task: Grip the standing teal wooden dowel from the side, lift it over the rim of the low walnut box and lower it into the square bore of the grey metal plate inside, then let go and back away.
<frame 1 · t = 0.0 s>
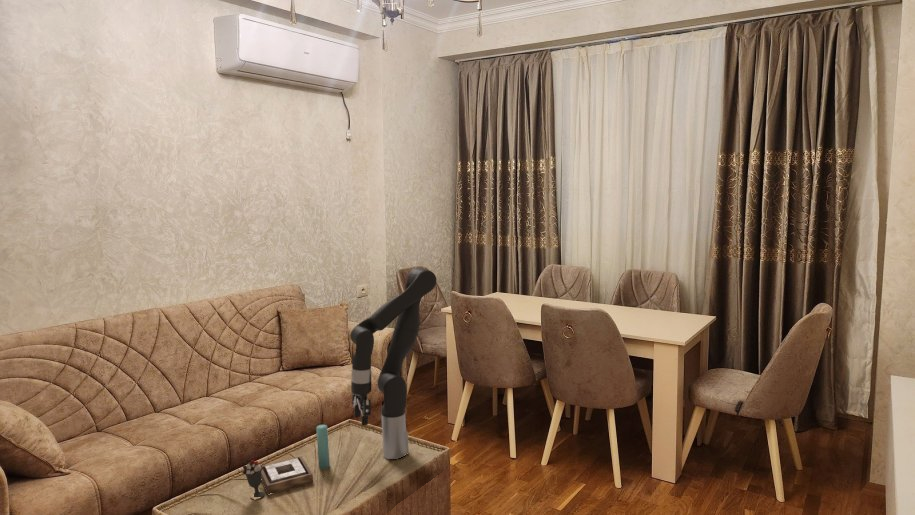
hand: (360, 420, 238), 17 cm above the table, tool pointing down, fingers open, 8 cm apart
plate: (285, 472, 230), in the box, point 2 cm above the table
box: (285, 479, 230), on the table
sundae: (257, 496, 219), on the table
peg: (324, 466, 239), on the table
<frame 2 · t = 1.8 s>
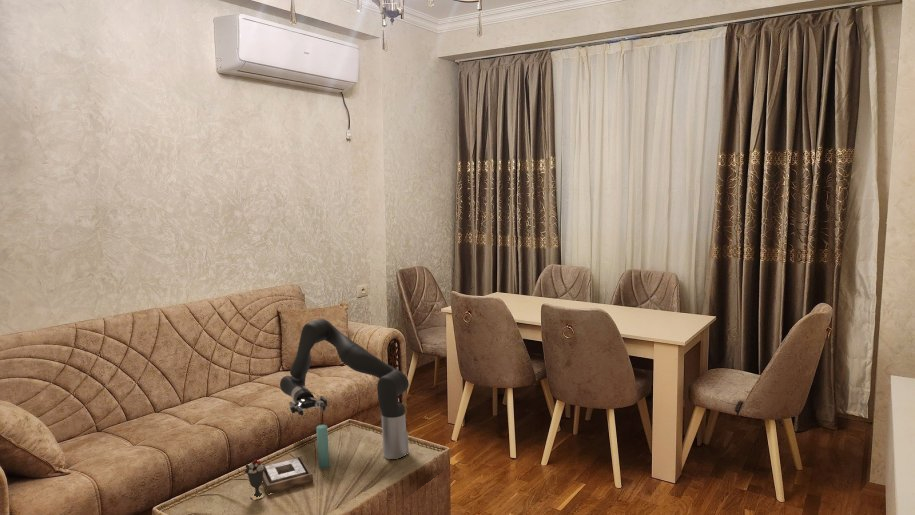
hand: (313, 410, 246), 18 cm above the table, tool horizontal, fingers open, 8 cm apart
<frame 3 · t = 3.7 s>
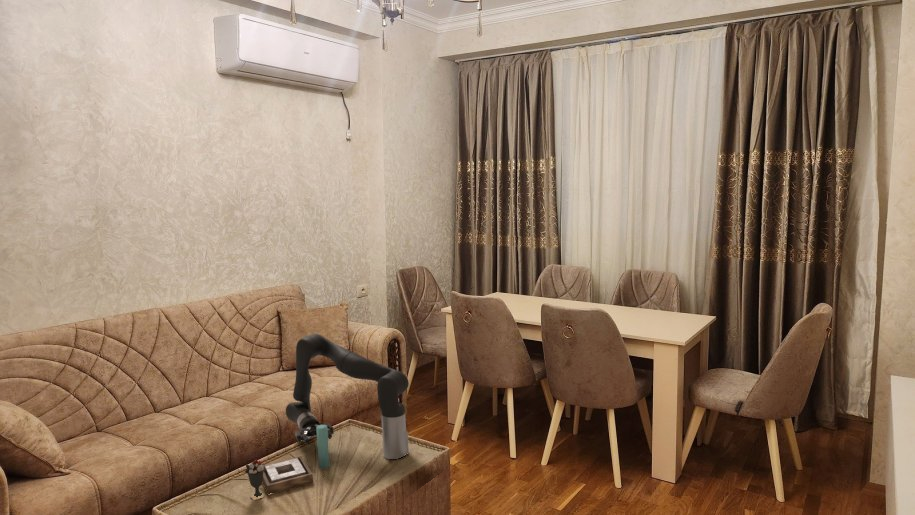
hand: (319, 439, 242), 9 cm above the table, tool horizontal, fingers open, 8 cm apart
nothing on the table moved.
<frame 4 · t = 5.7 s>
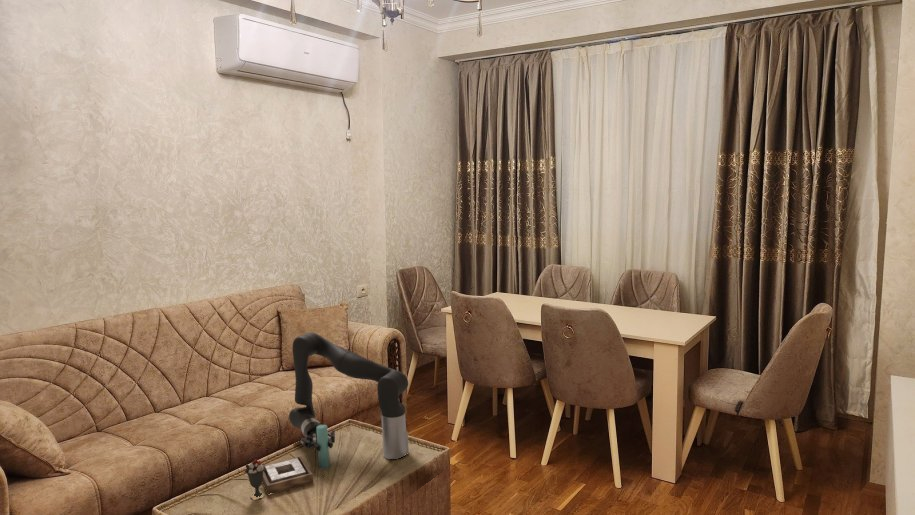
hand: (325, 447, 235), 9 cm above the table, tool horizontal, fingers closed on peg, 4 cm apart
peg: (324, 466, 239), on the table, touching gripper
everything else where it was.
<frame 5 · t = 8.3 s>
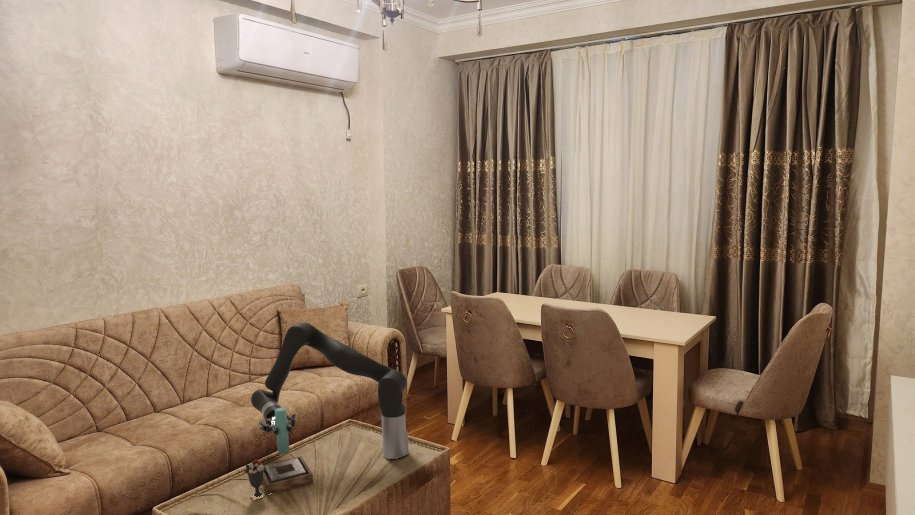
hand: (283, 430, 225), 20 cm above the table, tool horizontal, fingers closed on peg, 4 cm apart
peg: (283, 451, 228), point 11 cm above the table, touching gripper
everything else where it was.
when the fingers open (11 cm above the table, at t = 11.1 s): peg stays where it is, resting on box.
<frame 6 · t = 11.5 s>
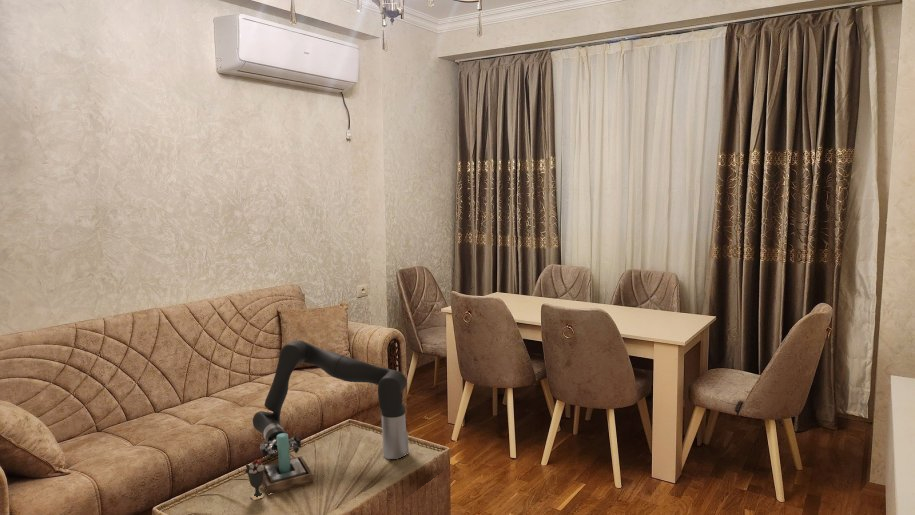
hand: (284, 453, 227), 11 cm above the table, tool horizontal, fingers open, 8 cm apart
peg: (285, 476, 230), point 1 cm above the table, touching box
everything else where it was.
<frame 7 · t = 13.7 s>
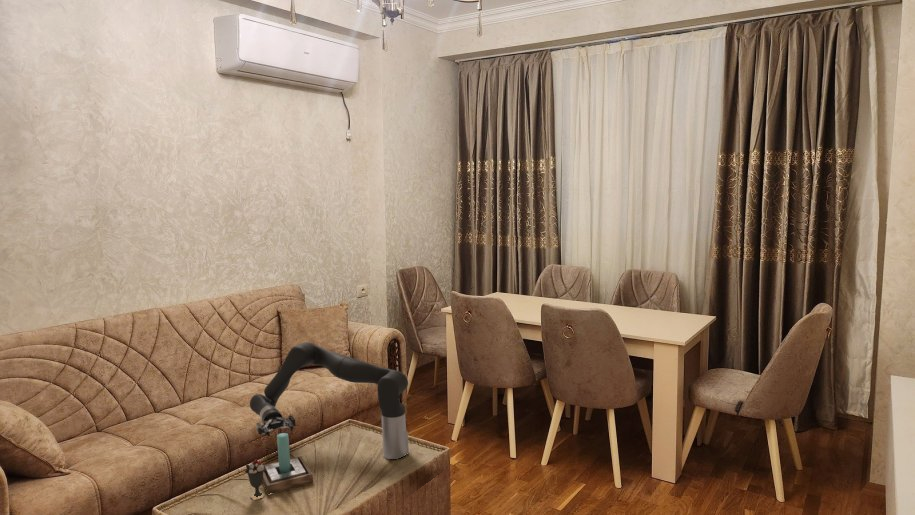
hand: (280, 431, 239), 14 cm above the table, tool horizontal, fingers open, 8 cm apart
nothing on the table moved.
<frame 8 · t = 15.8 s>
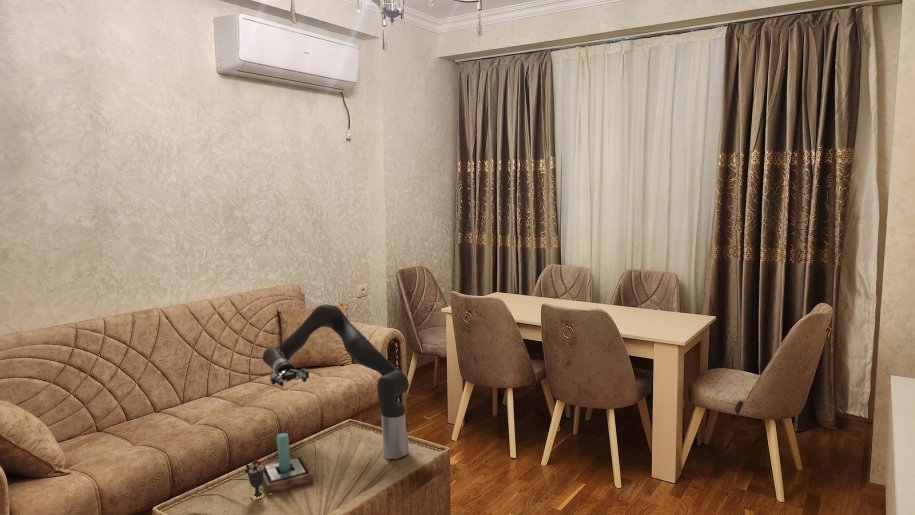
hand: (293, 381, 239), 32 cm above the table, tool horizontal, fingers open, 8 cm apart
nothing on the table moved.
at the end: peg 0.1 cm off-centre on the box, point 1.0 cm above the box's base; peg tilted 0°; the gripper is holding nothing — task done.
